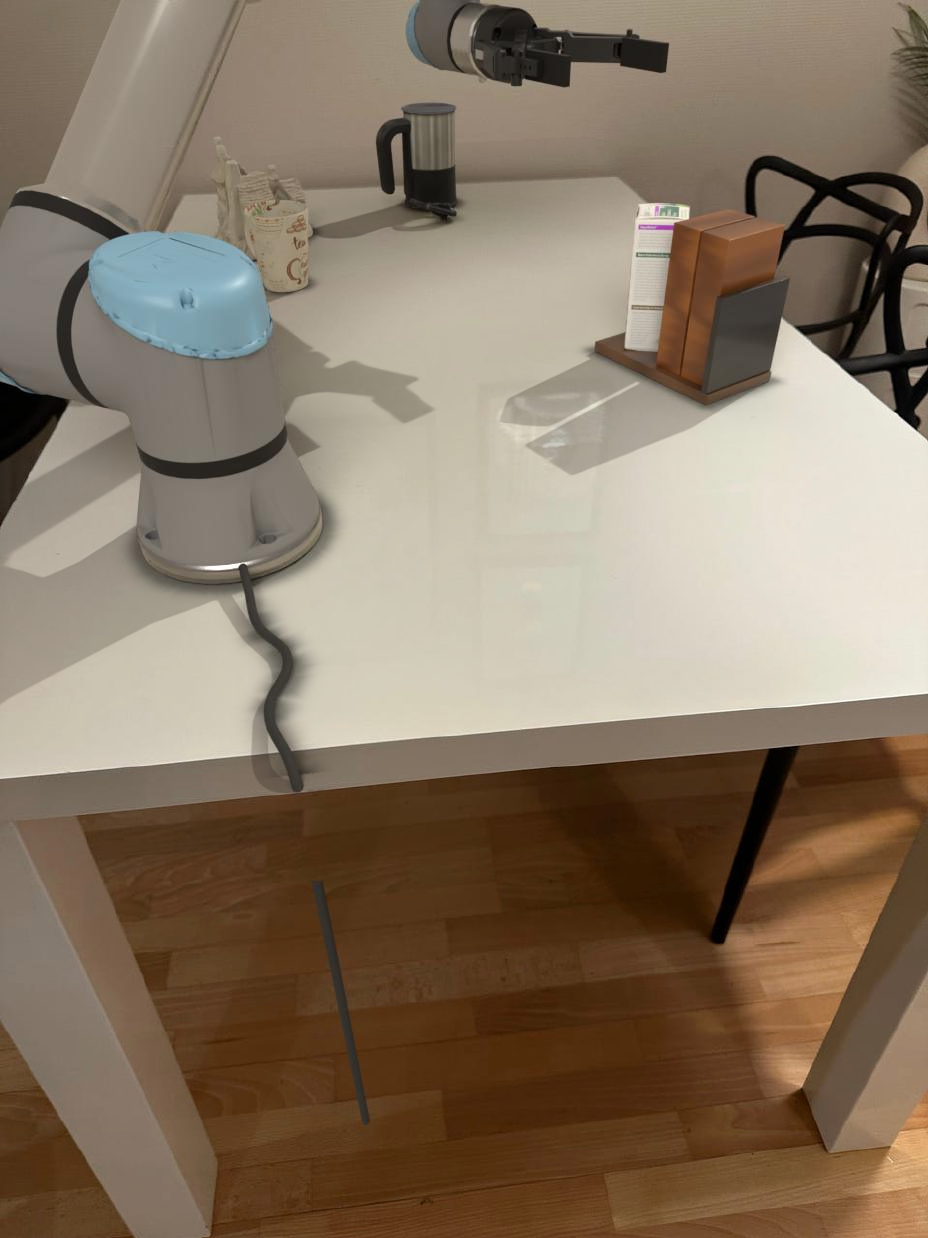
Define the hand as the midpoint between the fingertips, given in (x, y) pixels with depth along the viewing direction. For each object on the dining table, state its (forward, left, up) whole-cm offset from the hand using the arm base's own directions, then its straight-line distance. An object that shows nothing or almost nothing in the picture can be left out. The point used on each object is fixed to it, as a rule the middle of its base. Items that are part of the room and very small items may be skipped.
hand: (618, 64), depth 93 cm
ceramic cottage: (+33, +50, -28) cm, 66 cm away
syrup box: (-7, -6, -27) cm, 28 cm away
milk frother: (+51, +26, -28) cm, 63 cm away
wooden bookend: (-10, -9, -28) cm, 31 cm away
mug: (+15, +44, -28) cm, 54 cm away
